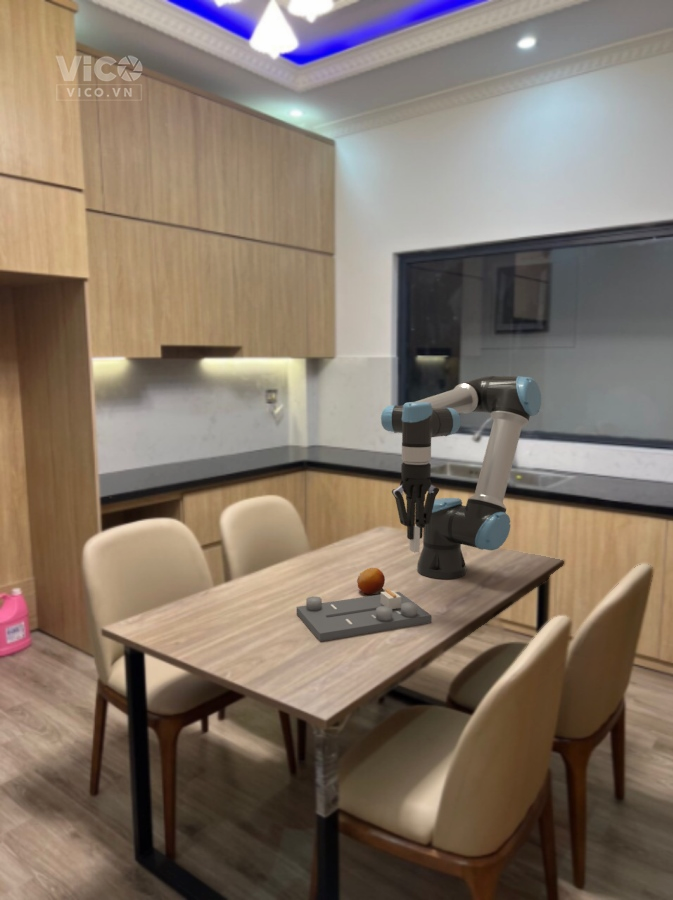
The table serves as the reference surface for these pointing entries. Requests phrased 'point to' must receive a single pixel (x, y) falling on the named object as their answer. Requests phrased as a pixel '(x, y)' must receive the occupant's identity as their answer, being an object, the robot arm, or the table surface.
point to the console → (358, 616)
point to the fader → (390, 599)
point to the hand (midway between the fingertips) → (414, 550)
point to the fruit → (371, 581)
